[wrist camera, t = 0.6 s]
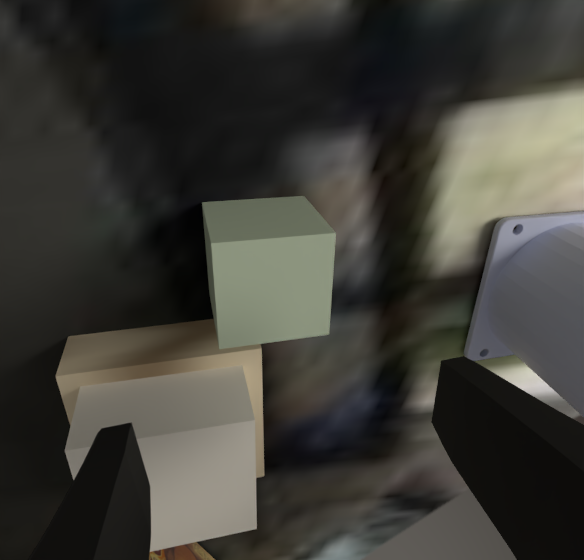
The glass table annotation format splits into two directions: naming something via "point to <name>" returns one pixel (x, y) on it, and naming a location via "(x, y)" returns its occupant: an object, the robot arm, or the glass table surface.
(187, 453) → the slab top
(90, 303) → the glass table surface
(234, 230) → the block
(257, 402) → the slab bottom
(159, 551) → the candy box
